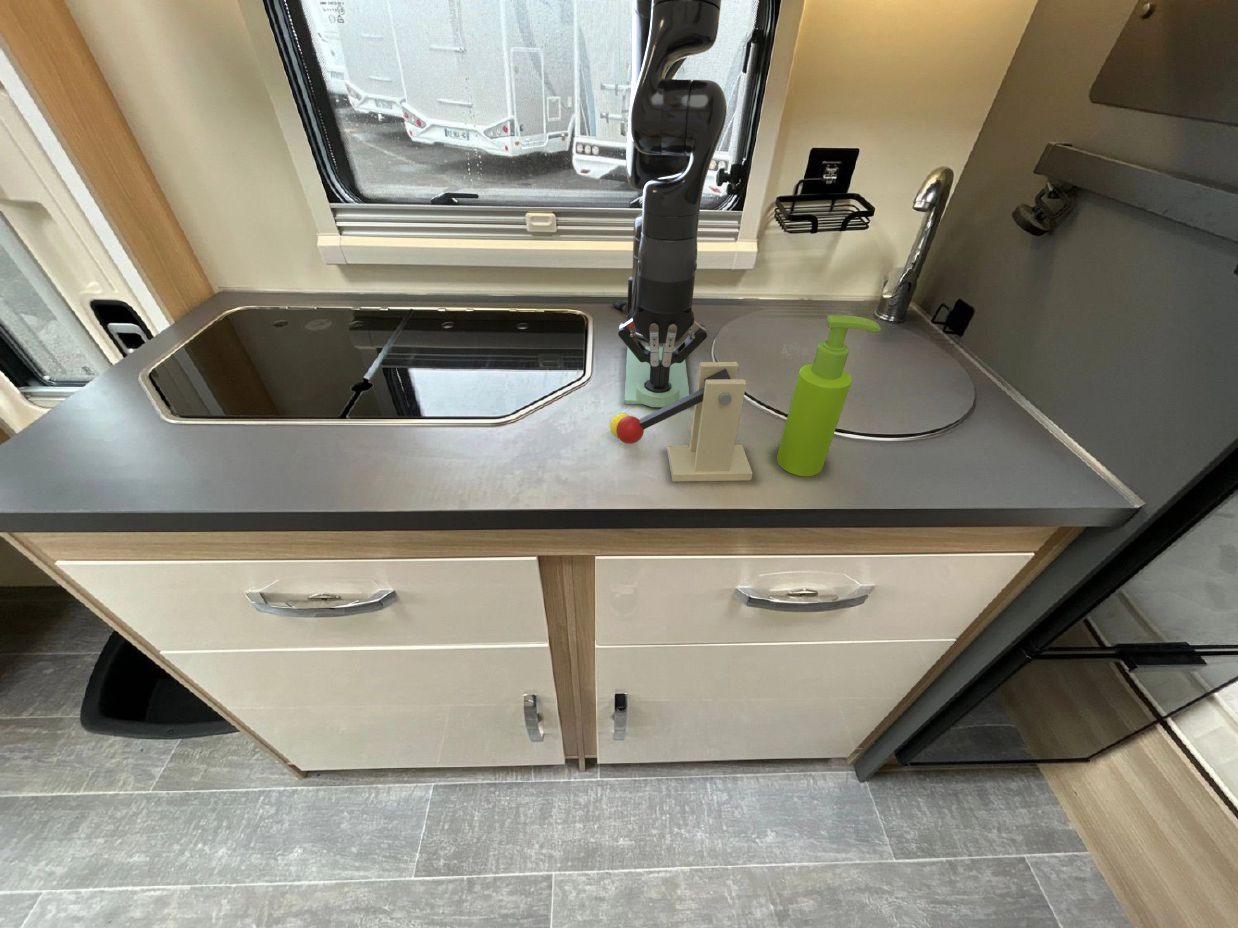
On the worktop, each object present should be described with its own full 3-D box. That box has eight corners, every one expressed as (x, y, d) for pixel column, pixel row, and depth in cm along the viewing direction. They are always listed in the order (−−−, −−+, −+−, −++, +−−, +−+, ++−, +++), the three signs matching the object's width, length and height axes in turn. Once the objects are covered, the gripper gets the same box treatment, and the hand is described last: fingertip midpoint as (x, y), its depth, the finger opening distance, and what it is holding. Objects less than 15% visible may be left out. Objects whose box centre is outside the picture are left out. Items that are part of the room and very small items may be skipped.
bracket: (672, 481, 66) (682, 386, 57) (667, 452, 70) (675, 360, 62) (751, 480, 66) (772, 385, 57) (740, 451, 71) (759, 359, 62)
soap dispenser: (833, 480, 66) (886, 333, 54) (777, 472, 67) (816, 326, 55) (828, 452, 71) (876, 311, 58) (776, 446, 72) (812, 305, 59)
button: (645, 388, 82) (646, 378, 80) (668, 389, 82) (669, 379, 80) (645, 400, 79) (646, 390, 78) (669, 401, 79) (670, 391, 78)
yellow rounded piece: (613, 445, 71) (606, 421, 70) (616, 431, 77) (610, 408, 76) (637, 439, 71) (630, 415, 70) (639, 425, 76) (632, 402, 75)
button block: (627, 349, 94) (627, 336, 92) (683, 351, 93) (684, 338, 92) (623, 410, 78) (624, 395, 77) (690, 412, 78) (692, 398, 77)
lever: (625, 453, 64) (611, 434, 62) (624, 437, 67) (610, 418, 65) (740, 399, 60) (729, 377, 58) (733, 384, 63) (723, 362, 61)
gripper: (714, 261, 71) (700, 374, 82) (617, 258, 71) (615, 372, 82) (721, 280, 65) (704, 400, 76) (614, 278, 65) (613, 397, 76)
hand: (658, 385), depth 79 cm, fingers closed
